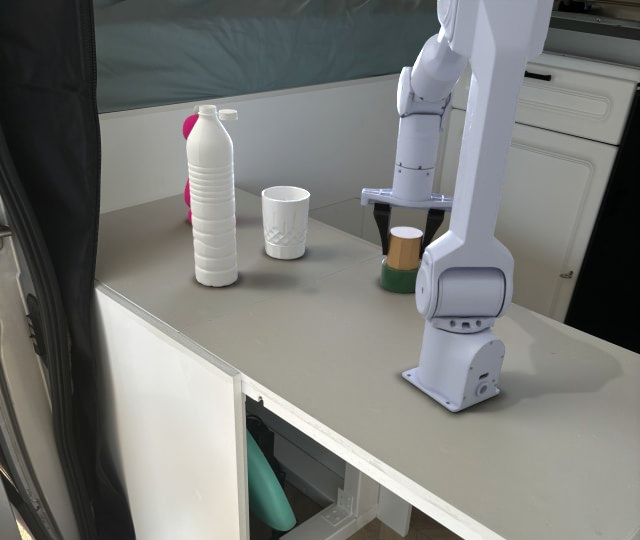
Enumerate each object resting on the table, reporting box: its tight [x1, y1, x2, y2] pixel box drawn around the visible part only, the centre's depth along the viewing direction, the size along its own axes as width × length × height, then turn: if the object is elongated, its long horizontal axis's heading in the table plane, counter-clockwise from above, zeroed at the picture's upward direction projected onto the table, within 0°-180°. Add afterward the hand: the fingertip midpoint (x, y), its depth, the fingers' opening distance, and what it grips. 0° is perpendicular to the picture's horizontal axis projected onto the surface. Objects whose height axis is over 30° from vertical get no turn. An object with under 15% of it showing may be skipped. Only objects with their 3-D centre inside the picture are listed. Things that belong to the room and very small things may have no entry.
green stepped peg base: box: [379, 257, 422, 294], centre depth 102 cm, size 6×6×6 cm
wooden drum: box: [385, 226, 424, 270], centre depth 101 cm, size 5×5×5 cm
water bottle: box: [185, 104, 239, 288], centre depth 95 cm, size 9×6×25 cm
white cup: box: [261, 185, 311, 260], centre depth 110 cm, size 8×8×10 cm
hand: (403, 255), depth 101 cm, fingers closed on wooden drum, 5 cm apart
